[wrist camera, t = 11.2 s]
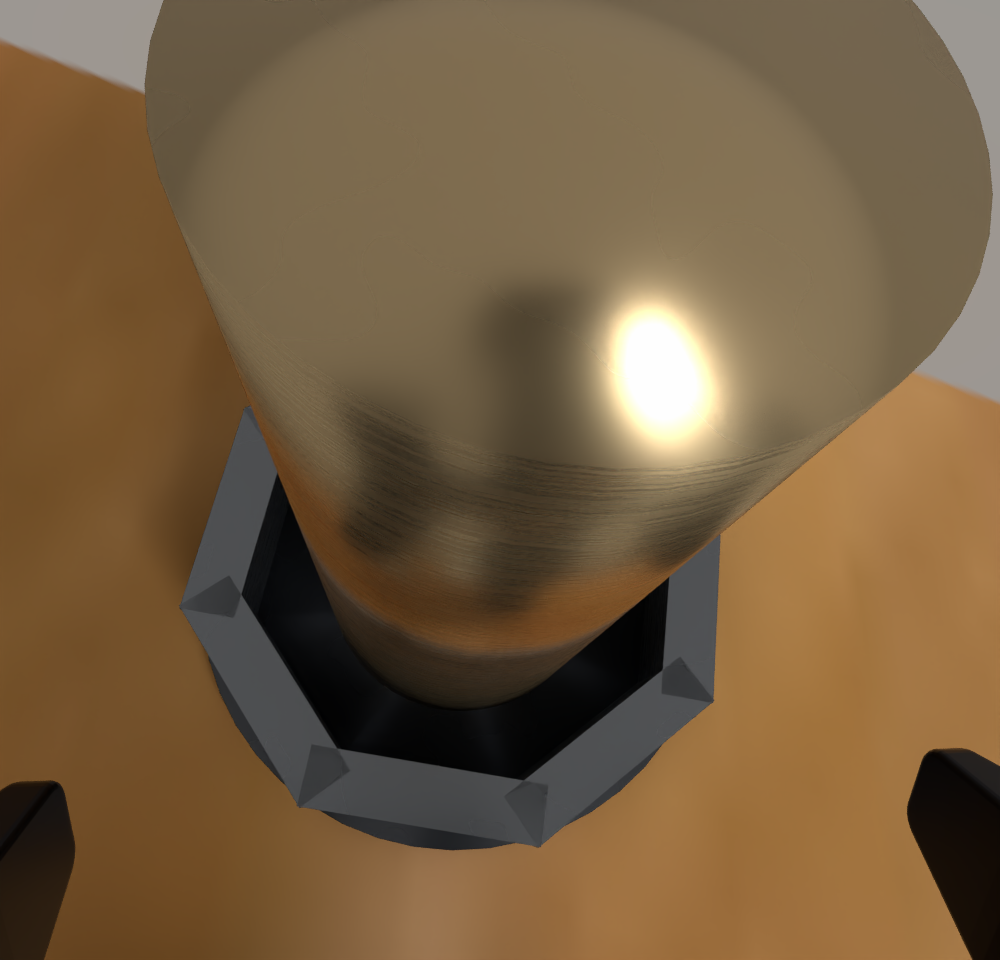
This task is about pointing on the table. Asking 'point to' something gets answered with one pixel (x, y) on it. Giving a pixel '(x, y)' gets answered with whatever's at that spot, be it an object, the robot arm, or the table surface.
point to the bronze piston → (556, 283)
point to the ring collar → (417, 728)
